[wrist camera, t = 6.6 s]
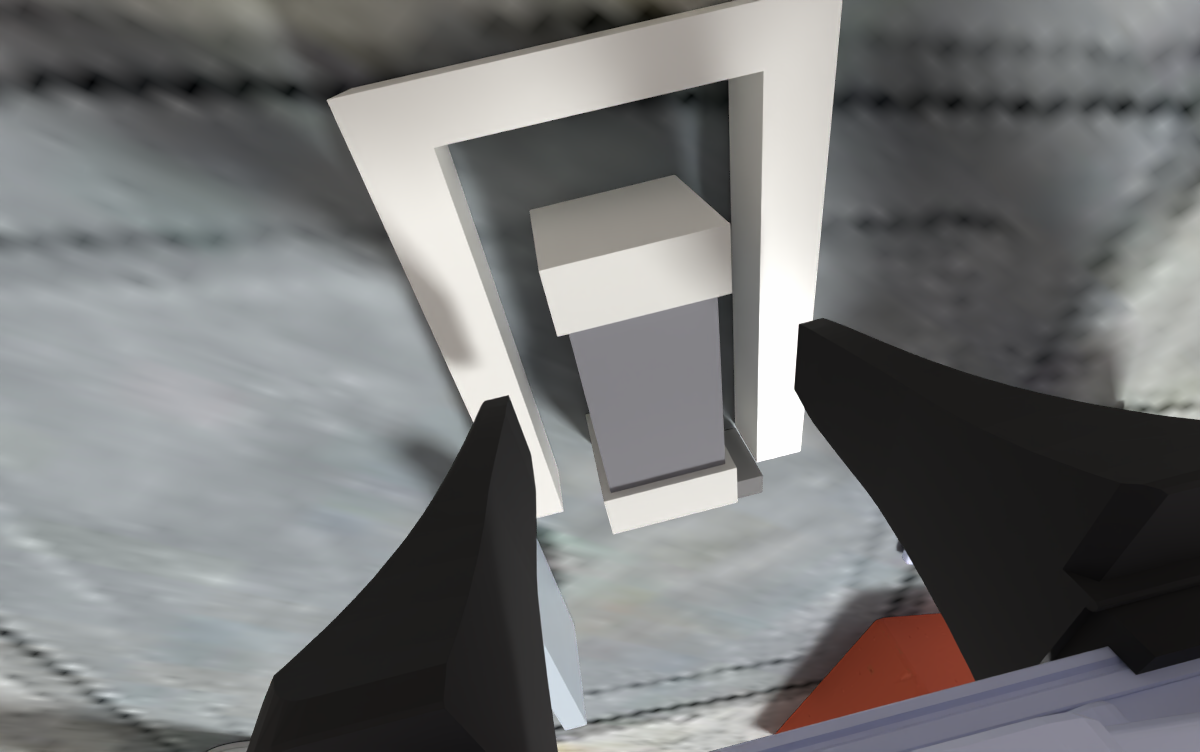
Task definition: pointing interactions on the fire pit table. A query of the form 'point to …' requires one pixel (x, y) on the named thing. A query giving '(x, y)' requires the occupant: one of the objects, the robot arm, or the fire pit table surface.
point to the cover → (559, 650)
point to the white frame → (590, 82)
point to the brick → (887, 669)
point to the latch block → (743, 465)
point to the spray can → (232, 747)
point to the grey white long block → (645, 341)
